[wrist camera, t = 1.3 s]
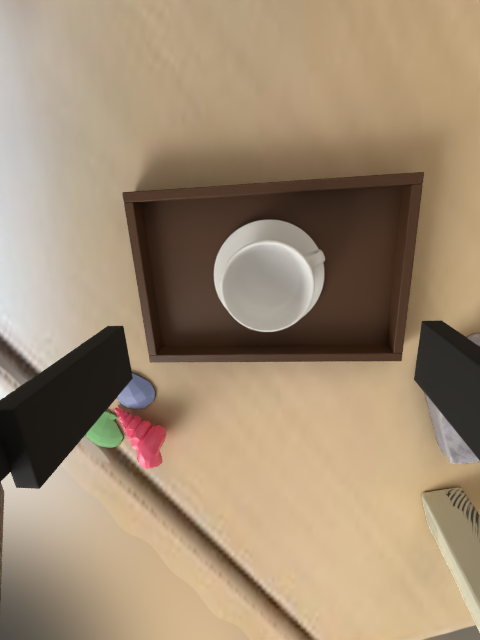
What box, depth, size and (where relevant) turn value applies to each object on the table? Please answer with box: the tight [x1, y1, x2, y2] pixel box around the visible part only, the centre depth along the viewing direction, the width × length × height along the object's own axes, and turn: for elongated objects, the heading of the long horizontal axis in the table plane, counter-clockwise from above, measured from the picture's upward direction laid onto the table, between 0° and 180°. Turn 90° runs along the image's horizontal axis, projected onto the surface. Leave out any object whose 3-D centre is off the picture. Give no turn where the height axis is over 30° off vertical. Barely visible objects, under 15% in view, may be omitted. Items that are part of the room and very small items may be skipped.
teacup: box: [214, 220, 325, 332], centre depth 27 cm, size 10×10×5 cm
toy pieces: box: [86, 373, 166, 469], centre depth 35 cm, size 12×11×4 cm
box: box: [422, 487, 480, 632], centre depth 31 cm, size 5×4×13 cm
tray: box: [123, 172, 424, 362], centre depth 29 cm, size 16×24×2 cm, turn 93°
